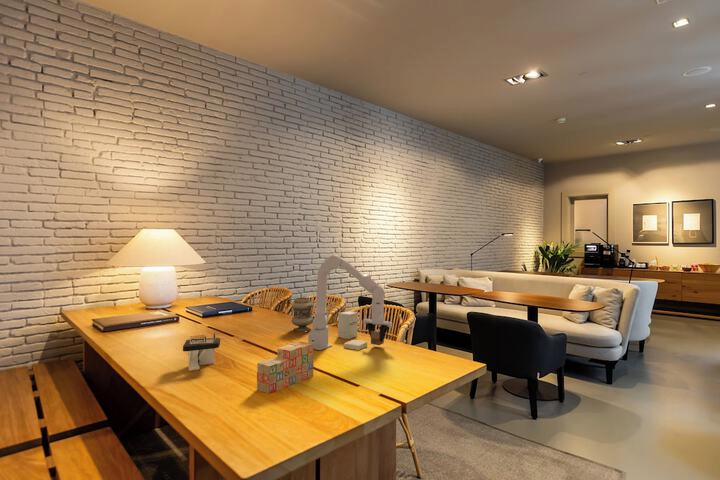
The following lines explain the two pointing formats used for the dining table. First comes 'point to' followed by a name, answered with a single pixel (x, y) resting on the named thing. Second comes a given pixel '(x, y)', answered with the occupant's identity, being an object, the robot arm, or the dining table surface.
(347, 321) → the supplement box
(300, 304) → the stone urn vase
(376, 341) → the walnut block
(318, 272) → the robot arm
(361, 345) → the base slab
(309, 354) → the stack of blocks
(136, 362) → the dining table surface
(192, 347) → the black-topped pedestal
